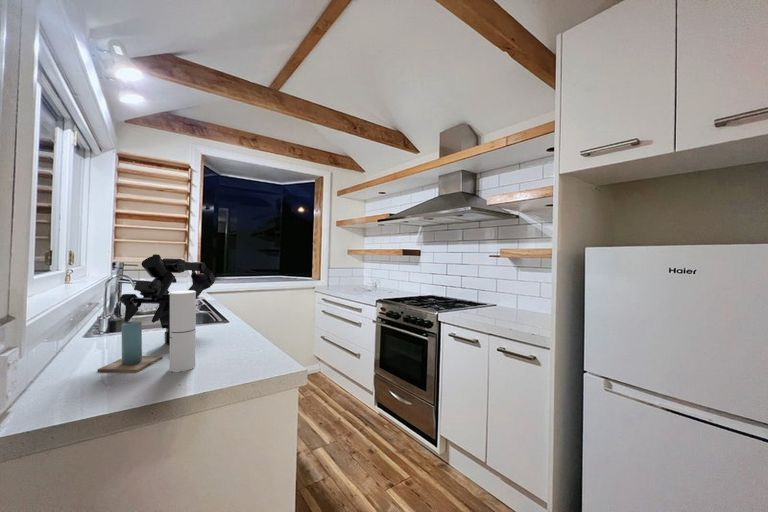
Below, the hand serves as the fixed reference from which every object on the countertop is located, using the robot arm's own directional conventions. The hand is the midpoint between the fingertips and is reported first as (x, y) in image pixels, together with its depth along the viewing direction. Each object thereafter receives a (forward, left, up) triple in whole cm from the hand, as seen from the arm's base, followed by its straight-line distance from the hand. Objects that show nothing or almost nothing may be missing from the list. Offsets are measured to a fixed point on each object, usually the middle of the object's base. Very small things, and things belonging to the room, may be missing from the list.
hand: (139, 321), depth 108 cm
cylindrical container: (-9, +17, -14) cm, 23 cm away
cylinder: (+2, +3, -13) cm, 13 cm away
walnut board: (+2, +3, -13) cm, 14 cm away
